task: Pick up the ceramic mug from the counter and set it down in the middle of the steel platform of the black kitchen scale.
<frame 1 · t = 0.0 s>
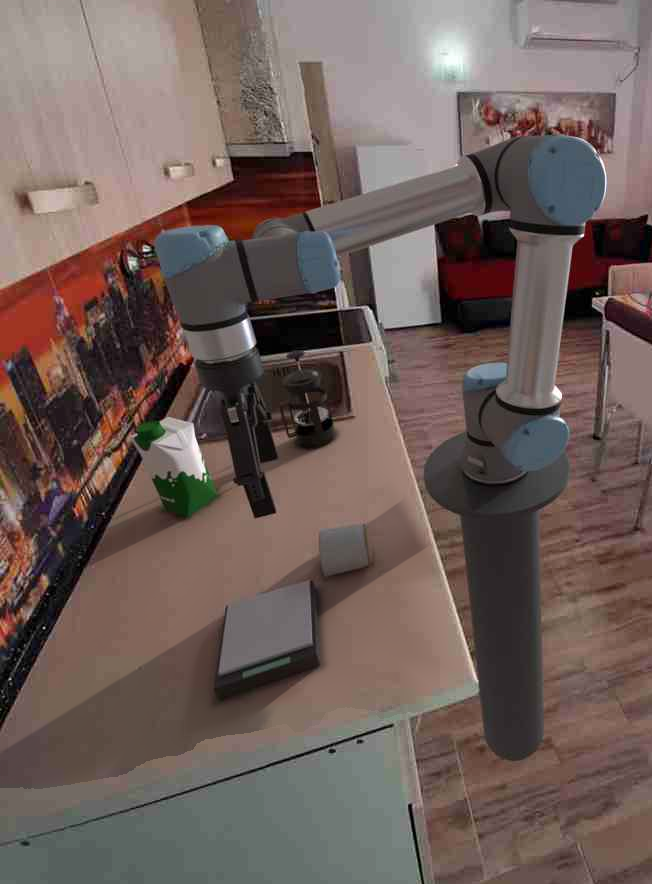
hand: (267, 485, 75), 21 cm above the worktop, tool pointing down, fingers open, 13 cm apart
milk carton: (192, 503, 106), on the worktop
ceramic mug: (348, 559, 90), on the worktop
kitchen scale: (272, 639, 76), on the worktop
french press: (315, 439, 126), on the worktop
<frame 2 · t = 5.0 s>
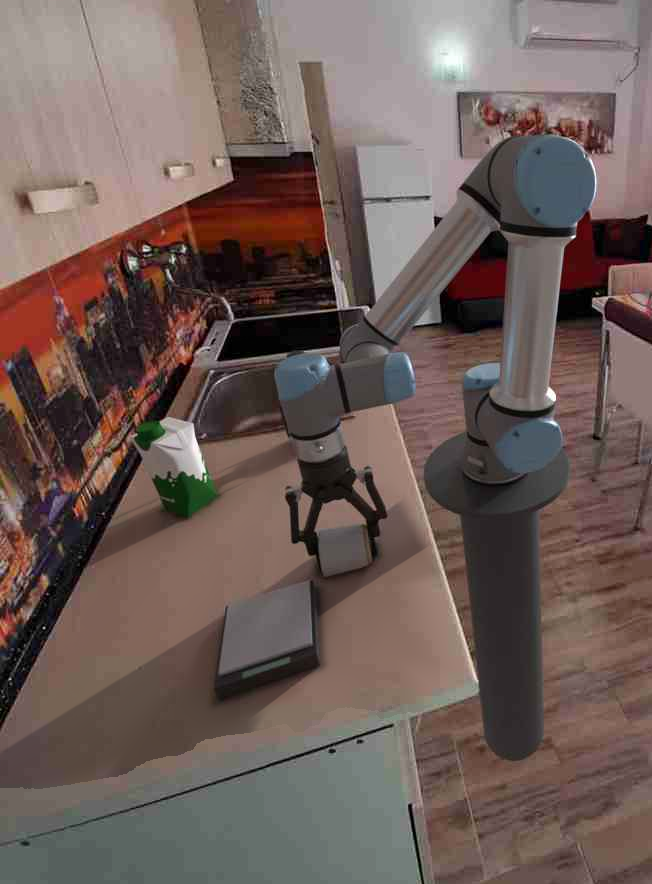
hand: (348, 557, 89), 0 cm above the worktop, tool pointing down, fingers closed on ceramic mug, 8 cm apart
ceramic mug: (347, 560, 90), on the worktop, touching gripper
everything else where it was.
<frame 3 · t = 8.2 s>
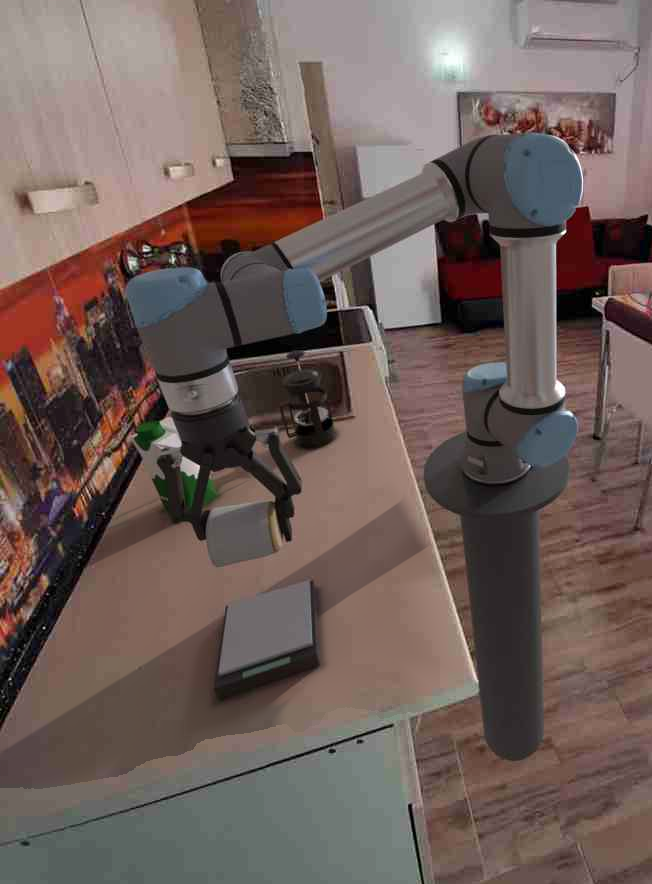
hand: (254, 543, 71), 17 cm above the worktop, tool pointing down, fingers closed on ceramic mug, 8 cm apart
ceramic mug: (253, 547, 71), point 16 cm above the worktop, touching gripper
everything else where it was.
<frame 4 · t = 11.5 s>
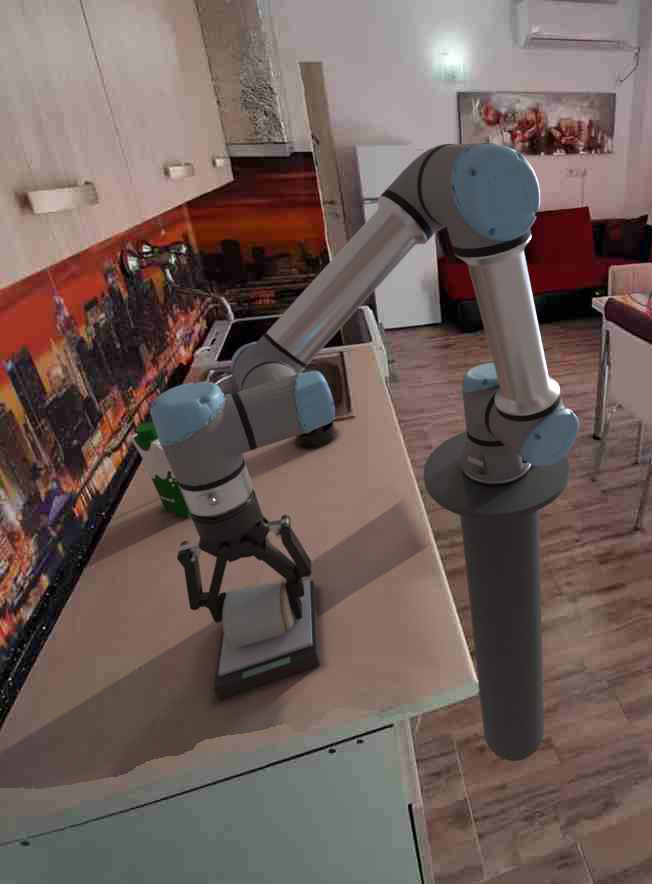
hand: (267, 621, 75), 3 cm above the worktop, tool pointing down, fingers closed on ceramic mug, 8 cm apart
ceramic mug: (265, 624, 75), point 3 cm above the worktop, touching gripper, kitchen scale
everything else where it was.
when the fingers open (3 cm above the worktop, at t = 11.7 s): ceramic mug stays where it is, resting on kitchen scale.
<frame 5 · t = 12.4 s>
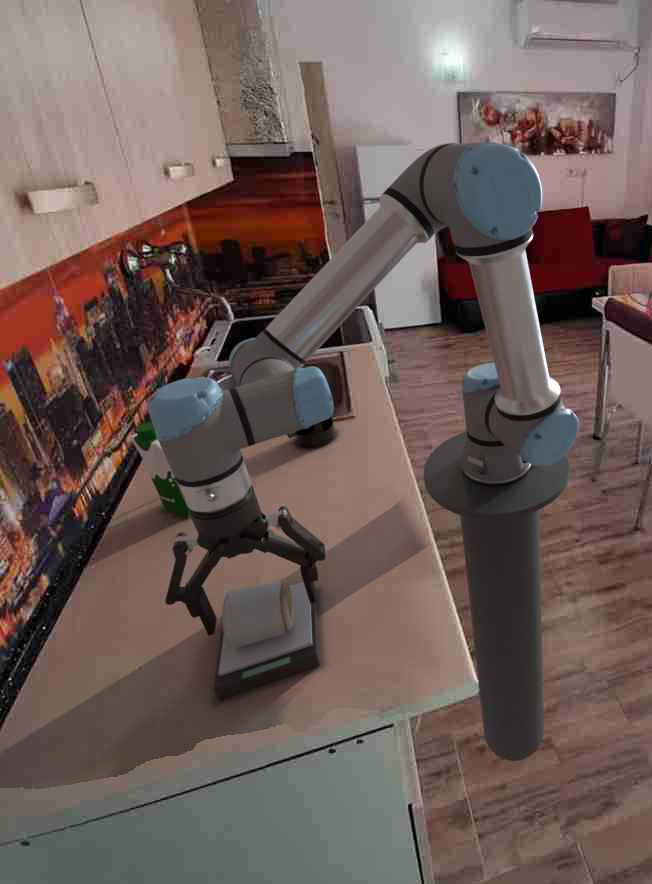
hand: (264, 611, 74), 5 cm above the worktop, tool pointing down, fingers open, 13 cm apart
ceramic mug: (265, 624, 75), point 3 cm above the worktop, touching kitchen scale
everything else where it was.
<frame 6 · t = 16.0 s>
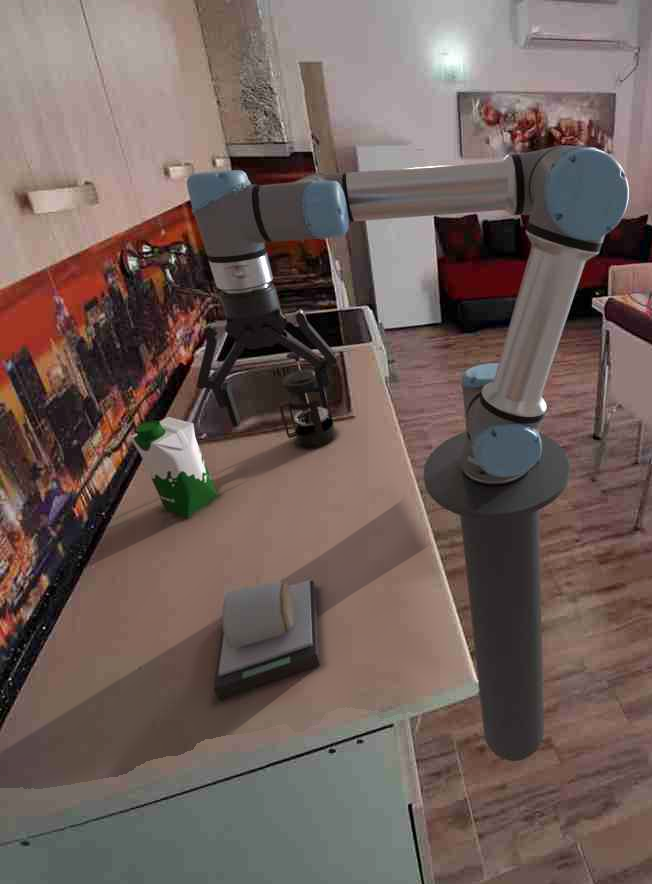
hand: (281, 413, 83), 27 cm above the worktop, tool pointing down, fingers open, 13 cm apart
nothing on the worktop moved.
at the end: ceramic mug inside the target area on the kitchen scale (0.3 cm from its centre), point 2.9 cm above the kitchen scale's base; ceramic mug tilted 0°; the gripper is holding nothing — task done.
